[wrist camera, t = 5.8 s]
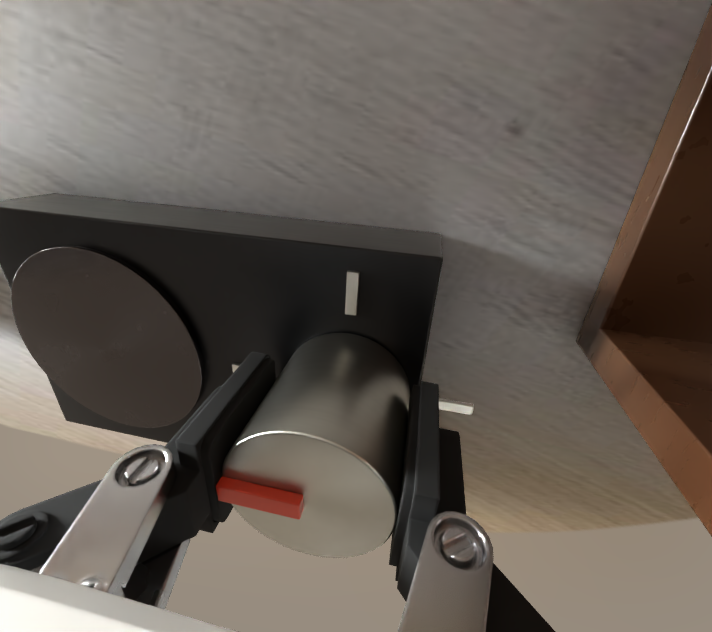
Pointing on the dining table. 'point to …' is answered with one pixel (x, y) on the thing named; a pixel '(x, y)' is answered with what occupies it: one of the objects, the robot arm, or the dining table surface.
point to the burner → (108, 335)
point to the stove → (247, 280)
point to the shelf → (666, 293)
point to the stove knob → (324, 450)
